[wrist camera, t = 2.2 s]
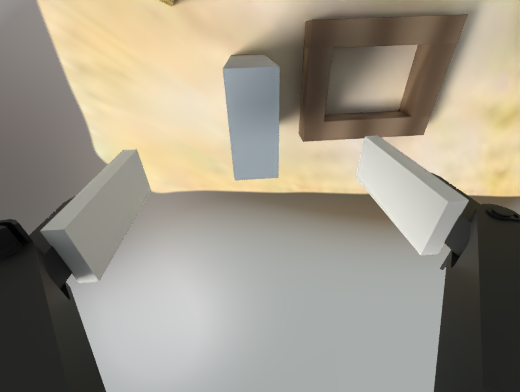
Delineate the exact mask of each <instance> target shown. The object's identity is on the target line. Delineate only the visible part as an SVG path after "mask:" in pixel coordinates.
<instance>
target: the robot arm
mask: <svg viewBox="0 0 520 392" xmlns="http://www.w3.org/2000/svg"><path fill="white" fill-rule="evenodd" d="M356 178H357V179H358V181H359V182H360V183H361V184H362V185H363V187H364V188H365V189H366V190H367V191H368V193H369V194H370V195H371V196H372V197H373V199H374V200H375V201H376V202H377V203H378V205H379V206H380V207H381V208H382V209H383V211H384V212H385V213H386V214H387V215H388V217H389V218H390V219H391V220H392V221H393V223H394V224H395V225H396V226H397V227H398V228H399V230H400V231H401V232H402V233H403V235H404V236H405V237H406V238H407V239H408V240H409V242H410V243H411V244H412V245H413V247H414V248H415V249H416V250H417V251H418V253H419V254H420V255H429V254H430V255H431V254H439V252H440V250H441V249H442V247H443V245H444V243H445V244H446V245H447V246H448V247H450V249H451V251H450V253H449V255H448V256H447V258H446V260H445V261H444V263H443V264H442V266H441V268H440V269H442V270H443V269H444V268H445V267H446V276H445V286H444V296H443V306H442V316H441V325H440V335H439V345H438V355H437V365H436V375H435V386H434V392H520V215H519V214H517V213H516V212H514V211H512V210H510V209H508V208H505V207H502V206H498V205H493V204H481V205H480V204H479V203H477V202H476V201H475V200H473V199H472V198H470V197H469V196H467V195H466V194H465V193H463V192H462V191H460V190H459V189H456V187H454V186H453V185H452V184H449V182H447V181H446V180H444V179H443V178H441V177H440V176H437V175H435V174H433V173H430V172H429V171H427V170H426V169H424V168H423V167H422V166H420V165H419V164H417V163H416V162H414V161H413V160H412V159H410V158H409V157H407V156H406V155H405V154H403V153H402V152H400V151H399V150H398V149H396V148H395V147H393V146H392V145H390V144H389V143H388V142H386V141H385V140H383V139H382V138H381V137H379V136H378V135H377V136H365V139H364V143H363V147H362V152H361V156H360V161H359V165H358V170H357V174H356ZM150 192H151V189H150V186H149V183H148V180H147V177H146V174H145V172H144V169H143V166H142V163H141V160H140V157H139V154H138V151H137V150H123V151H122V152H121V153H120V154H119V155H118V156H117V157H116V158H115V159H113V160H112V161H111V162H110V163H109V164H108V165H107V166H106V167H105V168H104V169H103V170H102V171H101V172H100V173H99V174H98V175H97V176H96V177H95V178H94V179H93V180H92V181H91V182H90V183H89V184H88V185H87V186H86V187H85V188H84V189H83V190H82V191H81V192H80V193H78V194H77V196H74V197H73V198H71V199H69V200H68V201H66V202H64V203H63V204H62V205H61V206H60V207H59V208H58V209H57V210H56V212H53V214H51V215H50V216H49V218H47V219H46V220H45V221H44V222H43V223H42V224H41V225H40V226H39V227H37V228H36V229H35V230H34V231H33V232H32V233H31V234H30V235H28V234H27V233H26V232H25V230H24V229H23V228H22V227H21V225H20V224H19V223H18V222H17V221H16V220H12V219H8V220H1V221H0V392H106V390H105V387H104V384H103V382H102V379H101V376H100V373H99V370H98V367H97V364H96V361H95V358H94V355H93V352H92V349H91V346H90V344H89V341H88V338H87V335H86V332H85V329H84V326H83V323H82V320H81V317H80V314H79V312H78V309H77V306H76V303H75V300H74V297H73V294H72V291H71V288H70V287H69V285H68V284H67V283H66V281H67V279H68V278H69V276H70V275H71V274H73V276H74V277H75V278H76V280H77V281H78V282H79V283H84V282H97V281H100V279H101V277H102V275H103V274H104V272H105V270H106V268H107V267H108V265H109V263H110V261H111V260H112V258H113V256H114V254H115V253H116V251H117V249H118V248H119V246H120V244H121V242H122V240H123V239H124V237H125V235H126V234H127V232H128V230H129V228H130V227H131V225H132V223H133V221H134V220H135V218H136V216H137V214H138V213H139V211H140V209H141V207H142V206H143V204H144V202H145V200H146V199H147V197H148V195H149V194H150Z"/></svg>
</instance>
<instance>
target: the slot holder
mask: <svg viewBox="0 0 520 392" xmlns="http://www.w3.org/2000/svg"><path fill="white" fill-rule="evenodd" d="M467 15H468V14H463V15H436V16H409V17H383V18H356V19H329V20H311V21H306V23H305V39H304V55H303V71H302V88H301V104H300V120H299V135H300V137H301V139H302V140H303V142H304V141H322V140H340V139H359V138H365V136H377V135H378V136H379V137H395V136H413V135H424V132H425V129H426V127H427V124H428V121H429V119H430V116H431V113H432V110H433V108H434V105H435V102H436V100H437V97H438V94H439V91H440V89H441V86H442V83H443V81H444V78H445V75H446V72H447V70H448V67H449V64H450V62H451V59H452V56H453V53H454V51H455V48H456V45H457V43H458V40H459V37H460V34H461V32H462V29H463V26H464V24H465V21H466V18H467ZM416 44H418V47H417V50H416V54H415V57H414V61H413V64H412V68H411V71H410V74H409V78H408V81H407V85H406V88H405V92H404V95H403V99H402V102H401V105H400V109H399V111H393V112H373V113H353V114H334V115H325V108H326V100H327V92H328V83H329V75H330V66H331V58H332V50H333V48H343V47H367V46H392V45H416Z"/></svg>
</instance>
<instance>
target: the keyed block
mask: <svg viewBox="0 0 520 392" xmlns="http://www.w3.org/2000/svg"><path fill="white" fill-rule="evenodd" d="M223 76H224V85H225V94H226V104H227V113H228V122H229V132H230V141H231V150H232V159H233V169H234V178H235V180H248V179H265V178H278V163H279V85H280V66H279V65H277V64H276V63H275V62H273V61H272V60H271V59H270V58H268V57H267V56H266V55H264V54H261V55H238V56H230V58H229V59H228V61H227V63H226V64H225V66H224V68H223Z"/></svg>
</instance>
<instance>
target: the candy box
mask: <svg viewBox="0 0 520 392" xmlns="http://www.w3.org/2000/svg"><path fill="white" fill-rule="evenodd" d="M157 1H159V2H162V3H164V4H167V5H169V6H173V3H174V0H157Z"/></svg>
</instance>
